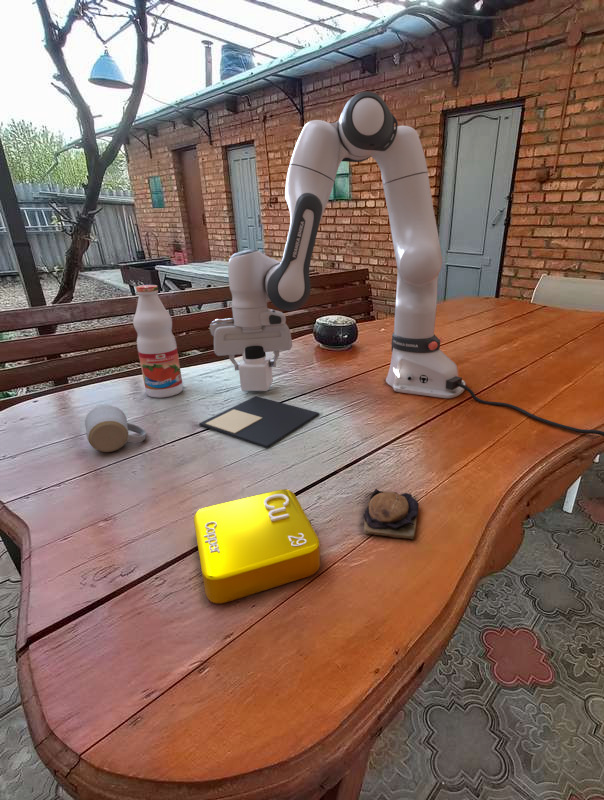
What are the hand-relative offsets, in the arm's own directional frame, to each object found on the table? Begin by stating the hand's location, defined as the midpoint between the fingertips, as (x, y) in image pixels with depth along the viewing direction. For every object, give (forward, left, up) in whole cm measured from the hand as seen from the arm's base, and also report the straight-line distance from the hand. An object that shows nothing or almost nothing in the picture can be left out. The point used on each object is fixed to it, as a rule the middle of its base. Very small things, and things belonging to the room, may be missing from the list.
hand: (255, 368), depth 114 cm
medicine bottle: (0, 0, -5) cm, 5 cm away
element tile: (-41, +47, -7) cm, 63 cm away
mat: (-13, +14, -6) cm, 21 cm away
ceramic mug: (+5, +38, -7) cm, 39 cm away
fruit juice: (+21, +14, -7) cm, 26 cm away
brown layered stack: (-54, +30, -7) cm, 63 cm away
